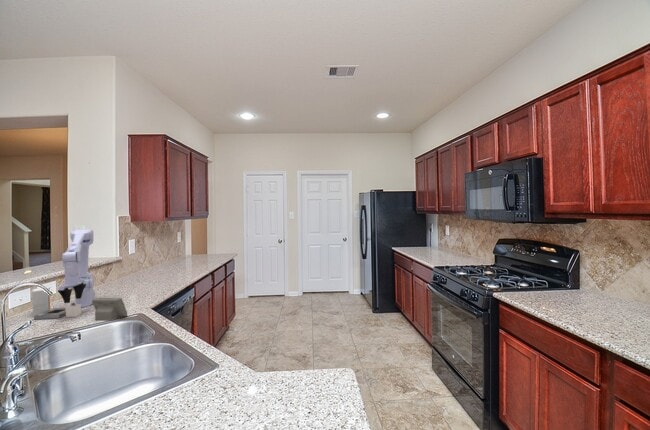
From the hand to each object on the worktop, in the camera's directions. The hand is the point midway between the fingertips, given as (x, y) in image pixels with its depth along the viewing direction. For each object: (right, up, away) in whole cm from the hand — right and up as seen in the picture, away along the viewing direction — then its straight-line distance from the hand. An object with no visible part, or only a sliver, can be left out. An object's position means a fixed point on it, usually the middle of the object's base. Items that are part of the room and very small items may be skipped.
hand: (73, 300), depth 154 cm
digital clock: (+23, -8, -4) cm, 24 cm away
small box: (-22, -9, +6) cm, 24 cm away
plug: (0, -8, 0) cm, 8 cm away
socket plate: (-10, -8, +1) cm, 13 cm away
